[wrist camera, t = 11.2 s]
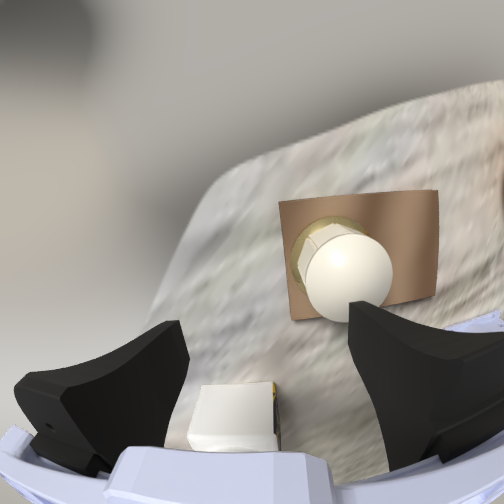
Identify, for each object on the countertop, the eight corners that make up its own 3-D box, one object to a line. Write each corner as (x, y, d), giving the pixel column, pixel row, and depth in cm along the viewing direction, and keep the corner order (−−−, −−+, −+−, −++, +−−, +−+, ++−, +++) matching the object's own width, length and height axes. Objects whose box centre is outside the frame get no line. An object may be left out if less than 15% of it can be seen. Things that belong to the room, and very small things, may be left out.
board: (430, 189, 19) (438, 190, 18) (428, 290, 21) (435, 295, 20) (278, 201, 20) (279, 202, 19) (290, 313, 22) (291, 320, 21)
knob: (371, 212, 19) (390, 217, 16) (373, 293, 20) (388, 311, 17) (285, 221, 19) (289, 228, 16) (294, 305, 21) (298, 325, 18)
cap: (353, 303, 20) (370, 330, 16) (287, 285, 20) (293, 310, 16) (380, 237, 19) (405, 251, 15) (313, 213, 18) (325, 221, 14)
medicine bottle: (280, 424, 26) (283, 517, 14) (216, 427, 26) (199, 516, 15) (274, 379, 24) (276, 488, 12) (201, 383, 24) (170, 483, 13)
